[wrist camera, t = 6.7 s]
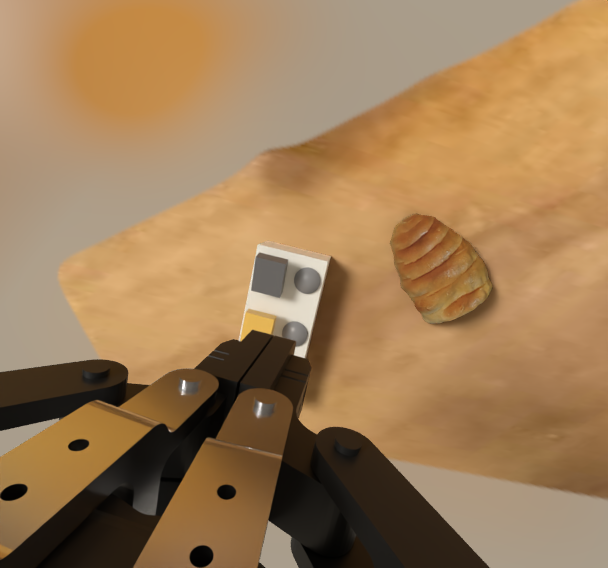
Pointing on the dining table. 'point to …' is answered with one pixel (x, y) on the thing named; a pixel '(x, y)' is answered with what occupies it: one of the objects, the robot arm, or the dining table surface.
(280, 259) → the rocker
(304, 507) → the robot arm
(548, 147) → the dining table surface
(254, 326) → the rocker middle
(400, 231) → the pastry
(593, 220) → the dining table surface
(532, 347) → the dining table surface
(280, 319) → the white switch panel
